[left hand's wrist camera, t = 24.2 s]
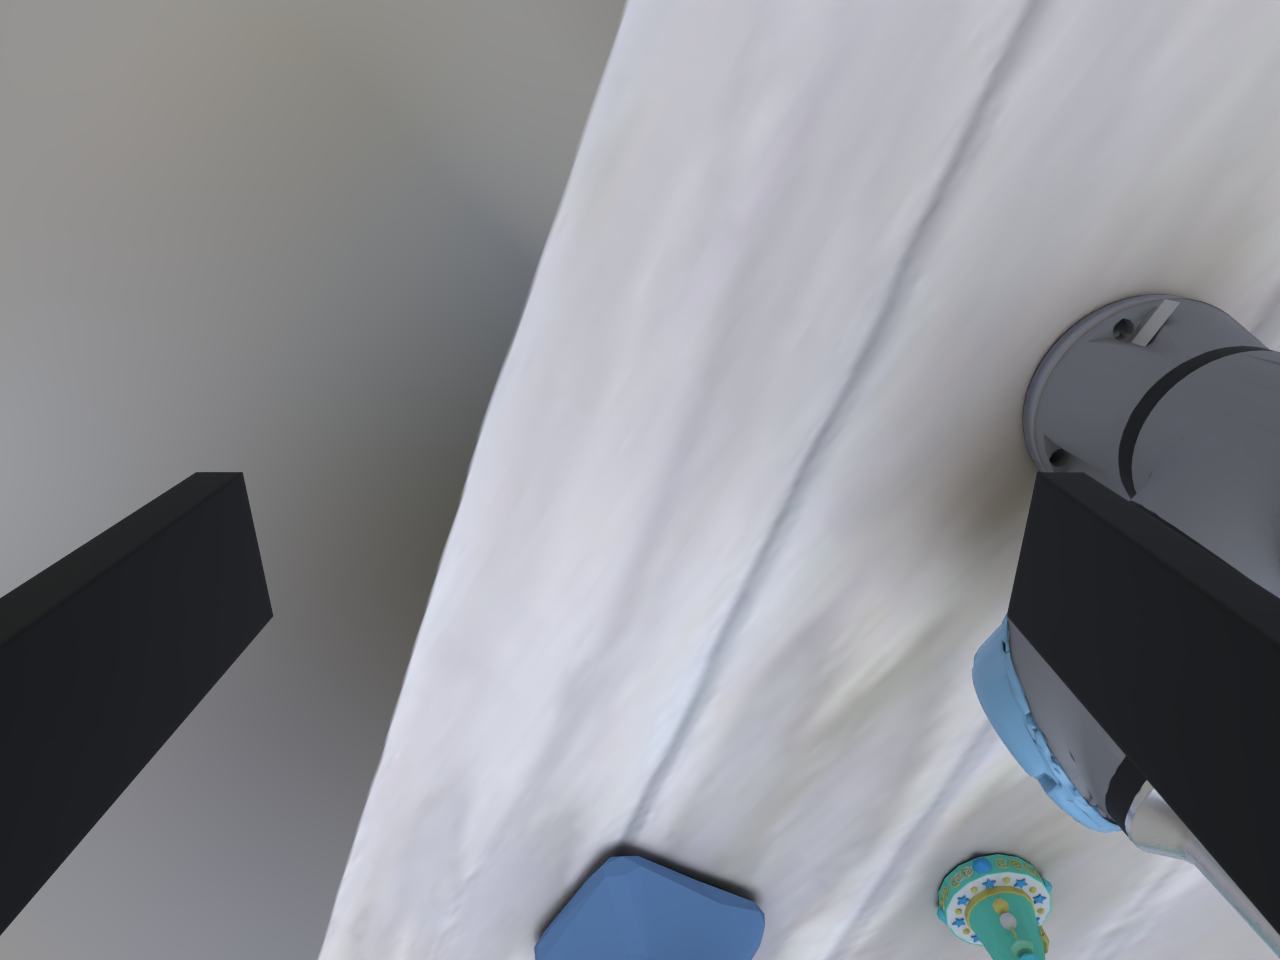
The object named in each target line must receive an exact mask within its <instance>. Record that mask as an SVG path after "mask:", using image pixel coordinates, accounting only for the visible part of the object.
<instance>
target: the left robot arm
mask: <svg viewBox="0 0 1280 960" xmlns="http://www.w3.org/2000/svg"><path fill="white" fill-rule="evenodd" d="M1023 430H1024V438H1025V442H1026V446H1027V449H1028V451H1029V454H1030V456H1031V458H1032V460H1033V462H1034V463H1035V465H1036V466H1037V468H1038V469H1039V470H1040V471H1041V472H1037V476H1036V481H1035V486H1034V491H1033V495H1032V500H1031V505H1030V509H1029V514H1028V519H1027V523H1026V528H1025V533H1024V538H1023V542H1022V547H1021V552H1020V556H1019V561H1018V566H1017V570H1016V575H1015V580H1014V585H1013V589H1012V594H1011V599H1010V603H1009V608H1008V612H1007V614H1006V616H1005V618H1004V620H1003V622H1002V624H1001V625H1000V626H999V627H998V628H997V629H996V631H995V632H994V633H993V634H992V635H991V636H990V637H989V638H988V639H987V640H986V641H985V642H984V643H983V644H982V645H981V647H980V648H979V649H978V651H977V652H976V654H975V657H974V666H973V669H972V678H973V683H974V687H975V691H976V694H977V696H978V699H979V701H980V704H981V706H982V708H983V710H984V712H985V714H986V716H987V717H988V719H989V721H990V723H991V724H992V726H993V728H994V729H995V731H996V732H997V734H998V735H999V737H1000V738H1001V740H1002V741H1003V743H1004V744H1005V746H1006V747H1007V748H1008V750H1009V751H1010V753H1011V754H1012V755H1013V757H1014V758H1015V759H1016V760H1017V762H1018V763H1019V764H1020V765H1021V767H1022V768H1023V769H1024V770H1025V771H1026V772H1027V773H1028V774H1029V775H1030V776H1031V777H1034V778H1036V779H1037V780H1038V781H1039V783H1040V784H1041V786H1042V788H1043V789H1044V791H1045V792H1046V794H1047V795H1048V796H1049V797H1050V798H1051V799H1052V800H1053V801H1054V802H1055V803H1056V804H1057V805H1058V806H1059V807H1060V808H1061V809H1062V810H1064V811H1065V812H1066V813H1067V814H1068V815H1070V816H1071V817H1072V818H1074V819H1075V820H1076V821H1078V822H1079V823H1081V824H1082V825H1084V826H1086V827H1088V828H1090V829H1092V830H1096V831H1099V832H1103V833H1109V832H1112V831H1120V830H1123V831H1124V833H1125V834H1126V835H1127V836H1128V837H1129V839H1130V840H1131V841H1132V842H1133V843H1134V844H1135V845H1136V846H1137V847H1138V848H1139V849H1141V850H1143V851H1145V852H1149V853H1153V854H1158V855H1162V856H1167V857H1172V858H1177V859H1181V860H1185V861H1187V862H1189V863H1192V864H1194V865H1195V866H1196V867H1197V868H1198V869H1199V871H1200V872H1201V873H1202V874H1203V875H1204V876H1205V877H1206V878H1207V879H1208V880H1209V881H1210V883H1211V884H1212V885H1213V886H1214V887H1215V888H1216V889H1217V890H1218V891H1219V892H1220V894H1221V895H1222V896H1223V897H1224V898H1225V899H1226V900H1227V901H1228V902H1229V903H1230V904H1231V906H1232V907H1233V908H1234V909H1235V910H1236V911H1237V912H1238V913H1239V914H1240V915H1241V917H1242V918H1243V919H1244V920H1245V921H1246V922H1247V923H1248V924H1249V925H1250V926H1251V927H1252V929H1253V930H1254V931H1255V932H1256V933H1257V934H1258V935H1259V936H1260V937H1261V938H1262V940H1263V941H1264V942H1265V943H1266V944H1267V945H1268V946H1269V947H1270V948H1271V949H1272V951H1273V952H1274V953H1275V954H1276V955H1277V956H1278V957H1279V958H1280V352H1276V351H1272V350H1269V349H1268V348H1267V347H1266V346H1265V345H1263V344H1262V343H1261V342H1260V341H1259V340H1258V339H1257V338H1255V337H1254V336H1253V335H1252V334H1251V333H1250V332H1249V331H1247V330H1246V329H1245V328H1244V327H1243V326H1242V325H1241V324H1239V323H1238V322H1237V321H1236V320H1235V319H1233V318H1232V317H1231V316H1229V315H1228V314H1227V313H1225V312H1223V311H1222V310H1220V309H1218V308H1216V307H1214V306H1212V305H1210V304H1207V303H1204V302H1201V301H1197V300H1192V299H1187V298H1183V297H1178V296H1172V295H1143V296H1137V297H1132V298H1128V299H1124V300H1121V301H1118V302H1115V303H1112V304H1110V305H1107V306H1105V307H1103V308H1101V309H1099V310H1097V311H1095V312H1093V313H1092V314H1090V315H1088V316H1087V317H1085V318H1084V319H1082V320H1081V321H1079V322H1078V323H1077V324H1075V325H1074V326H1073V327H1072V328H1071V329H1069V330H1068V331H1067V332H1066V333H1065V334H1064V335H1063V336H1062V337H1061V338H1060V339H1059V340H1058V341H1057V342H1056V343H1055V344H1054V345H1053V347H1052V348H1051V349H1050V350H1049V352H1048V353H1047V354H1046V356H1045V357H1044V359H1043V360H1042V362H1041V363H1040V365H1039V367H1038V368H1037V370H1036V372H1035V374H1034V376H1033V378H1032V381H1031V383H1030V386H1029V389H1028V392H1027V395H1026V400H1025V404H1024V412H1023ZM272 617H273V613H272V608H271V603H270V599H269V594H268V589H267V585H266V580H265V575H264V570H263V566H262V561H261V556H260V552H259V547H258V542H257V538H256V533H255V528H254V524H253V519H252V514H251V509H250V505H249V500H248V495H247V491H246V486H245V481H244V476H243V473H242V472H196V473H194V474H193V475H191V476H190V477H188V478H187V479H185V480H183V481H182V482H180V483H179V484H177V485H176V486H174V487H173V488H171V489H170V490H168V491H167V492H165V493H163V494H162V495H160V496H159V497H157V498H156V499H154V500H152V501H151V502H149V503H148V504H146V505H145V506H143V507H142V508H140V509H138V510H137V511H135V512H134V513H132V514H131V515H129V516H128V517H126V518H124V519H123V520H121V521H120V522H118V523H117V524H115V525H114V526H112V527H111V528H109V529H107V530H106V531H104V532H103V533H101V534H100V535H98V536H96V537H95V538H93V539H92V540H90V541H89V542H87V543H86V544H84V545H82V546H81V547H79V548H78V549H76V550H75V551H73V552H72V553H70V554H68V555H67V556H65V557H64V558H62V559H61V560H59V561H58V562H56V563H54V564H53V565H51V566H50V567H48V568H47V569H45V570H44V571H42V572H40V573H39V574H37V575H36V576H34V577H33V578H31V579H30V580H28V581H26V582H25V583H23V584H22V585H20V586H19V587H17V588H16V589H14V590H12V591H11V592H9V593H8V594H6V595H5V596H3V597H2V598H0V935H1V934H2V933H3V932H4V930H5V929H6V928H7V927H8V926H9V925H10V924H11V922H12V921H13V920H14V919H15V918H16V917H17V915H18V914H19V913H20V912H21V911H22V909H23V908H24V907H25V906H26V905H27V904H28V902H29V901H30V900H31V899H32V898H33V897H34V895H35V894H36V893H37V892H38V891H39V890H40V888H41V887H42V886H43V885H44V884H45V883H46V881H47V880H48V879H49V878H50V877H51V876H52V874H53V873H54V872H55V871H56V870H57V869H58V867H59V866H60V865H61V864H62V863H63V862H64V860H65V859H66V858H67V857H68V856H69V854H70V853H71V852H72V851H73V850H74V849H75V847H76V846H77V845H78V844H79V843H80V842H81V840H82V839H83V838H84V837H85V836H86V835H87V833H88V832H89V831H90V830H91V829H92V828H93V826H94V825H95V824H96V823H97V822H98V820H99V819H100V818H101V817H102V816H103V815H104V814H105V812H106V811H107V810H108V809H109V808H110V807H111V805H112V804H113V803H114V802H115V801H116V799H117V798H118V797H119V796H120V795H121V794H122V792H123V791H124V790H125V789H126V788H127V787H128V785H129V784H130V783H131V782H132V781H133V780H134V778H135V777H136V776H137V775H138V774H139V773H140V771H141V770H142V769H143V768H144V767H145V765H146V764H147V763H148V762H149V761H150V760H151V759H152V757H153V756H154V755H155V754H156V753H157V751H158V750H159V749H160V748H161V747H162V746H163V744H164V743H165V742H166V741H167V740H168V739H169V737H170V736H171V735H172V734H173V733H174V732H175V730H176V729H177V728H178V727H179V726H180V725H181V723H182V722H183V721H184V720H185V719H186V718H187V716H188V715H189V714H190V713H191V712H192V711H193V709H194V708H195V707H196V706H197V705H198V704H199V702H200V701H201V700H202V699H203V698H204V696H205V695H206V694H207V693H208V692H209V691H210V690H211V688H212V687H213V686H214V685H215V684H216V682H217V681H218V680H219V679H220V678H221V677H222V675H223V674H224V673H225V672H226V671H227V670H228V668H229V667H230V666H231V665H232V664H233V663H234V661H235V660H236V659H237V658H238V657H239V656H240V654H241V653H242V652H243V651H244V650H245V649H246V647H247V646H248V645H249V644H250V643H251V642H252V640H253V639H254V638H255V637H256V636H257V635H258V633H259V632H260V631H261V630H262V629H263V627H264V626H265V625H266V624H267V623H268V622H269V620H270V619H271V618H272Z"/></svg>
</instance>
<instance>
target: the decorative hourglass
mask: <svg viewBox="0 0 1280 960" xmlns="http://www.w3.org/2000/svg"><path fill="white" fill-rule="evenodd" d="M1051 887H1052V885H1051V884H1050V883H1049V882H1048V881H1047V880H1045V879H1044V878H1043V877H1040V875H1039V874H1038V872H1037V871H1036V870H1035V868H1034V867H1033V865H1031V864H1029V863H1027V862H1026V861H1024V860H1022V859H1020V858H1018V857H1014V856H1007V855H1000V854H996V855H989V856H983V857H977V858H975V859H973V860H970V861H968V862H966V863H964V864H961V865H959V866H958V867H957V868H956V869H955V870H953V871H952V872H951V873H950V874H949V875H948V876H947V877H946V878H945V879H944V881H943V883H942V885H941V888H940V890H939V892H938V896H939V907H938V911H937V915H938V918H939V919H940V920H942V921H943V922H944V923H945V924H947V925H948V927H949V928H950V929H951V931H952V932H953V934H954V935H955V936H956V937H958V938H960V939H962V940H964V941H966V942H968V943H969V944H975V945H981V946H984V947H985V948H986V950H987V951H988V953H989V954H990V956H991V957H992V959H993V960H1045V953H1047V952H1048V946H1049V939H1048V937H1047V936H1046V934H1045V932H1044V930H1043V928H1042V926H1041V925H1043V923H1044V921H1045V919H1046V918H1047V916H1048V914H1049V912H1050V911H1051V895H1050V893H1051ZM1039 928H1040V929H1039ZM1040 930H1041V932H1040ZM1041 933H1042V935H1041Z"/></svg>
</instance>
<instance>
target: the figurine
mask: <svg viewBox="0 0 1280 960" xmlns="http://www.w3.org/2000/svg"><path fill="white" fill-rule="evenodd" d="M764 927H765V921H764V913H763V912H762V911H761V909H760V908H759V907H758V906H757V905H756V903H755V902H753V901H750V900H748V899H745V898H742V897H740V896H737V895H734V894H732V893H729V892H726V891H724V890H721V889H718V888H716V887H713V886H710V885H708V884H705V883H702V882H700V881H697V880H695V879H692V878H690V877H687V876H685V875H683V874H680V873H678V872H675V871H673V870H671V869H668V868H666V867H663V866H661V865H659V864H656V863H654V862H651V861H649V860H647V859H644V858H642V857H640V856H619V857H610V858H609V859H608V860H607V861H606V862H605V863H604V864H603V865H602V866H601V867H600V868H599V869H598V870H597V871H596V872H595V873H593V874H592V875H591V876H590V877H589V878H588V879H587V881H586V882H585V883H584V884H583V885H582V887H581V888H580V889H579V890H578V891H577V893H576V894H575V895H574V896H573V897H572V899H571V900H570V901H569V902H568V903H567V905H566V906H565V907H564V908H563V909H562V911H561V912H560V913H559V914H558V915H557V917H556V918H555V919H554V920H553V921H552V923H551V924H550V925H549V926H548V927H547V929H546V930H545V931H544V933H543V934H542V936H541V937H540V939H539V941H538V942H537V944H536V946H535V947H534V950H535V960H751V959H752V958H753V956H754V955H755V953H756V951H757V950H758V948H759V946H760V943H761V939H762V936H763V932H764Z"/></svg>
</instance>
